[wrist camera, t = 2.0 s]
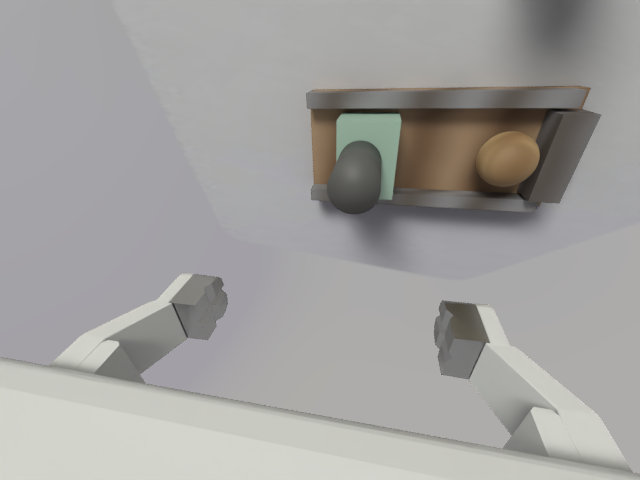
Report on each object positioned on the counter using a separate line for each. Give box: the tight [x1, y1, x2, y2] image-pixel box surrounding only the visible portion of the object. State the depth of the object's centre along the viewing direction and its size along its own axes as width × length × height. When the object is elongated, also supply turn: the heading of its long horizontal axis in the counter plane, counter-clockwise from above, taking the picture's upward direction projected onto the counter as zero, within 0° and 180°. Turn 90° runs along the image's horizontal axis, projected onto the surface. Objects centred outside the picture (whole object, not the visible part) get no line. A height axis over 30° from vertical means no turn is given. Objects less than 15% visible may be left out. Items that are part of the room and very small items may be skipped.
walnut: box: [476, 131, 540, 187], centre depth 23 cm, size 4×4×4 cm
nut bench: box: [306, 86, 601, 213], centre depth 26 cm, size 22×10×4 cm, turn 91°
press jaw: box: [327, 112, 401, 214], centre depth 23 cm, size 5×7×10 cm
